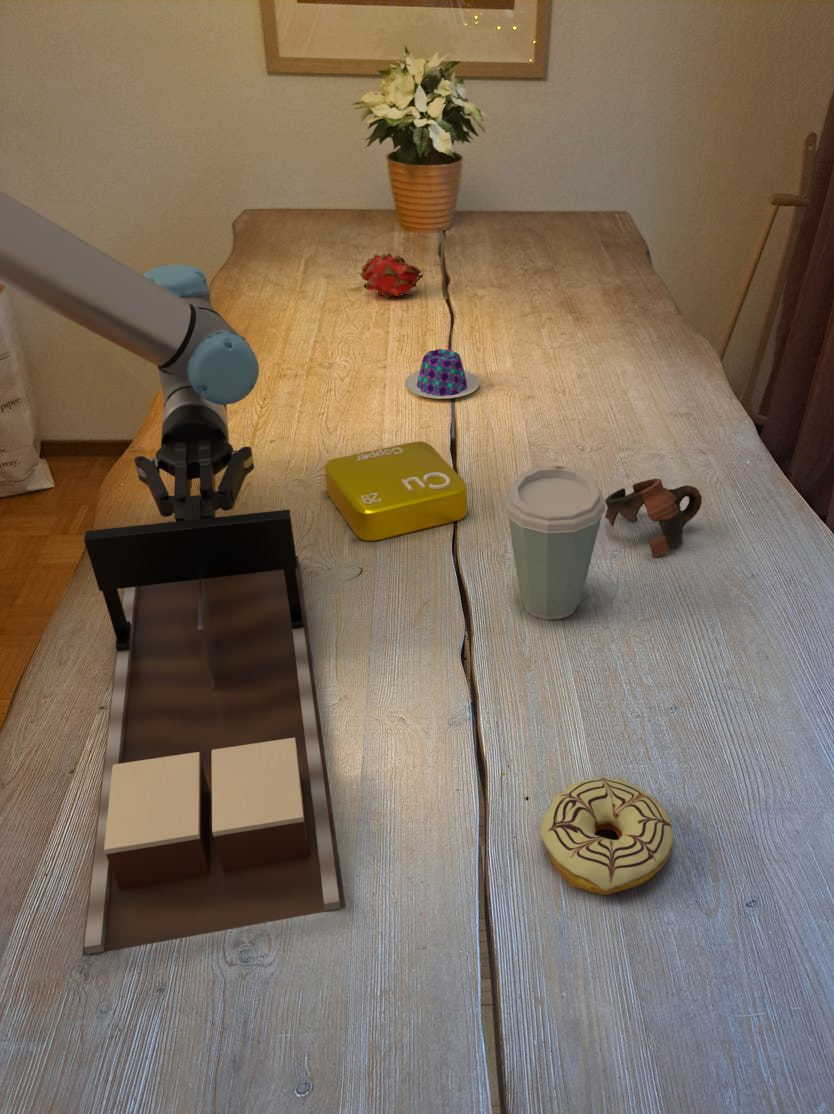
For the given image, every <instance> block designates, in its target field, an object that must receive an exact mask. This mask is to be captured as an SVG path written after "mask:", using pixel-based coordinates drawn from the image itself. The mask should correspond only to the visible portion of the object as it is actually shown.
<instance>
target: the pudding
mask: <svg viewBox="0 0 834 1114" xmlns="http://www.w3.org/2000/svg"><path fill="white" fill-rule="evenodd" d="M480 383H481V381H480V378H479V377H478V376H477V375H476V374H474V373H473V372H471V371H469V370H466V369H465V368H464V365H463V361H462V357H461V355H460V353H458V352H456V351H453V350H452V349H443V348H438V349H435V350H428V351H427V352H426V353H425V354H424V355H423V357H422V360H421V363H420V368H419V370H417V371H415V372H412V373H411V374H409V375H408V376H407V377H406V378H405V380H404V386H405V388H406V389H407V390H408V391H409V392H411V393H412V394H415V395H417V396H420V397H424V398H430V399H439V400H440V399H454V398H455V399H456V398H460V397H464V396H466V395H467V396H468V395H469V394H471V393H473V392H475V391H476V390H477V389H478V388H479V387H480V385H481V384H480Z"/></svg>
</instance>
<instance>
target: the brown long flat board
mask: <svg viewBox="0 0 834 1114" xmlns="http://www.w3.org/2000/svg"><path fill="white" fill-rule="evenodd" d="M296 560H297V568H296V574H297V582H298V589H299V596H300V603H301V610H302V618H303V626H304V627H301V628H293V629H292V624H291V616H290V609H289V602H288V595H287V589H286V582H285V575H284V570H275V571H267V572H258V573H250V574H241V575H233V576H224V577H216V578H207V579H198V580H190V581H181V582H173V583H164V584H156V585H147V586H139V587H130V588H122V589H123V591H122V597H121V598H122V600H121V603H122V607H123V610H124V614H125V617H126V621H130V624H131V632H130V643H129V649H128V650H121V651H117V650H116V652H115V661H114V668H113V677H112V678H113V679H112V687H111V694H110V695H111V697H110V704H109V705H110V706H109V712H108V713H109V714H108V723H107V730H106V740H105V748H104V757H103V765H102V774H101V776H102V777H101V784H100V793H99V804H98V812H97V818H96V827H95V828H96V829H95V837H94V845H93V846H94V847H93V855H92V857H93V858H92V863H91V864H92V865H91V872H90V882H89V891H88V898H87V907H86V908H87V909H86V915H85V926H84V934H83V943H82V952H81V953H82V954H81V957H86V956H91V955H96V954H103V953H108V952H114V951H120V950H123V949H129V948H135V947H141V946H147V945H151V944H156V943H162V942H168V941H172V940H173V941H174V940H178V939H183V938H189V937H195V936H201V935H206V934H210V933H212V934H213V933H216V932H223V931H228V930H234V929H239V928H244V927H249V926H255V925H260V924H266V923H271V922H278V921H282V920H287V919H292V918H298V917H304V916H310V915H315V914H321V913H326V912H327V913H328V912H333V911H337V910H341V909H346V899H345V893H344V892H345V891H344V885H343V879H342V878H343V877H342V871H341V863H340V856H339V847H338V842H337V834H336V833H337V832H336V827H335V819H334V812H333V804H332V797H331V789H330V781H329V775H328V768H327V767H328V766H327V759H326V751H325V746H324V739H323V731H322V723H321V716H320V708H319V702H318V694H317V687H316V680H315V673H314V664H313V655H312V650H311V642H310V634H309V626H308V620H307V613H306V606H305V599H304V590H303V582H302V576H301V568H300V562H299V561H300V560H299V556H298V555H296ZM199 580H202V583H203V587H204V592H205V596H206V601H207V606H208V610H209V615H210V619H211V624H212V629H213V633H214V638H215V688H212V686H211V681H210V677H209V673H208V668H207V664H206V660H205V655H204V651H203V646H202V642H201V638H200V633H199V629H198V623H199ZM288 738H295V740H296V746H297V752H298V758H299V765H300V771H301V777H302V786H303V796H304V805H305V814H306V824H307V833H308V842H309V852H310V856H309V857H304V858H298V859H292V860H286V861H280V862H275V863H269V864H263V865H257V866H251V867H246V868H240V869H234V870H228V871H223V870H222V867H221V863H220V859H219V856H218V852H217V848H216V844H215V840H214V836H213V833H212V750H214V749H221V748H228V747H235V746H241V745H248V744H255V743H261V742H268V741H275V740H282V739H288ZM195 752H199V753H200V757H201V761H202V764H203V768H204V772H205V776H206V780H207V784H208V788H209V814H210V874H206V875H200V876H194V877H188V878H183V879H177V880H171V881H165V882H159V883H154V884H148V885H142V886H136V887H130V888H124V889H119V887H118V885H117V882H116V880H115V877H114V874H113V872H112V869H111V867H110V864H109V861H108V859H107V856H106V853H105V851H104V845H105V835H106V825H107V816H108V806H109V796H110V787H111V777H112V767H113V765H114V764H121V763H127V762H134V761H141V760H148V759H154V758H161V757H168V756H174V755H181V754H188V753H195Z"/></svg>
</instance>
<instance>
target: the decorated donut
mask: <svg viewBox="0 0 834 1114" xmlns="http://www.w3.org/2000/svg"><path fill="white" fill-rule="evenodd" d="M601 830H603V831H609V830H610V831H613V832H614V833H615V834H616V835H617V838H618V839H609V838H606V837H602V836H600V835H596V833H598V832H599V831H601ZM539 835H540V839H541V841H542V842H543V844H544V845H545V848H546V852H547V854H548V856H549V858H550V861H551V863H552V865H553V866H554V868H555V870H556V871H557V873H558V875H560V876H561V878H562V880H564V881H566V882H567V883H568V884H569V885H570V886H571V887H572V888H575V889H582V890H584V891H586V892H590V893H595V894H598V895H602V896H607V895H611V894H615V893H618V892H624V891H626V890H628V889H632V888H635V887H638V886H640V885H642V884H644V883H646V882H648V881H649V880H651V879H652V878H653V877H654V876H655V875H656V874H657V873H658V872H659V871H660V870H661V868H662V867H663V866H664V865H665V864H666V862H667V860H668V859H669V857H670V856H671V851H672V848H673V843H674V833H673V823H672V820H671V818H670V814H669V813H668V812H667V809H666V808H665V807H664V806H663V805H662V804H661V802H659V800H658V799H657V798H655V797H654V796H653V795H651V794H650V793H648V792H646V791H645V790H643V789H641V788H640V787H638V786H637V785H635V784H633V783H631V782H629V781H627V780H624V779H620V778H618V777H617V778H614V777H610V778H607V777H596V778H590V779H587V780H581V781H576V782H573V783H571V784H569V785H567V786H566V787H565V789H564V790H563V792H561V793H560V794H557V795H555V797H553V800H552V802H551V804H550V808H549V809H548V810H547V811H546V814H545V815H544V816H543V818H542V821H541V824H540V828H539Z"/></svg>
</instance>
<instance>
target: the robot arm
mask: <svg viewBox="0 0 834 1114" xmlns="http://www.w3.org/2000/svg"><path fill="white" fill-rule="evenodd" d="M0 285H1V286H4V287H6V288H7V289H10V290H11V291H13V292H16V293H17V294H19V295H21V296H23V297H25V298H27V299H29V300H30V301H32V302H35V304H36V303H37V304H38V305H40V306H42V307H44V308H46V309H47V310H50V311H51V312H54V313H56V314H57V315H60V316H61V317H63V318H65V319H67V320H69V321H71V322H73V323H75V324H77V325H78V326H80V327H82V328H84V329H87V330H88V331H90V332H92V333H94V334H95V335H98V336H100V337H102V338H104V339H105V340H107V341H109V342H111V343H113V344H115V345H117V346H119V347H120V348H122V349H125V350H127V351H128V352H130V353H133V355H136V356H138V357H140V358H142V359H144V360H146V361H147V362H149V363H151V364H153V365H154V366H156V367H157V371H158V377H159V382H160V387H161V391H162V395H163V413H162V424H161V436H160V437H161V438H160V448H159V449H158V450H156V452H155V456H154V457H151V458H147V457H146V456H143V455H138V456H136V457H134V459H133V460H134V464H135V468H136V473H137V477H138V480H139V481H140V482H142V483H143V484H145V485H147V487H148V489H149V491H150V493H151V496H152V498H153V501H154V502H155V505H156V507H157V509H158V511H159V512H158V513H159V514H160V516H161V517H164V518H168V517H170V516H172V515H173V517H174V522H176V521H185V520H194V519H204V518H213V517H216V513H217V511H218V510H220V509H221V510H222V511H225V512H226V511H231V510H232V509H234V506H235V503H236V501H237V498H238V496H239V494H240V492H241V489H242V486H243V484H244V482H245V479H246V476H247V475H248V474H250V473H251V472H252V471H253V470H254V469H255V463H254V457H253V450H252V447H250V446H242V447H241V448H239V450H235V449H234V447H233V445H232V444H231V443H230V436H229V420H228V407H227V406H228V405H232V404H236V403H238V402H241V401H242V400H244V399H245V398H247V397H248V396H249V395H250V394H251V393H252V391H253V390H254V388H255V386H256V384H257V382H258V379H259V373H260V365H259V360H258V358H257V354H256V353H255V352H254V350H253V349H252V347H251V345H250V343H249V342H248V341H247V339H246V338H245V337H244V336H243V335H241V334H240V333H238V332H237V331H236V330H235V329H234V328H233V327H232V326H231V325H230V324H229V322H227V320H225V319H224V317H222V315H221V314H220V313H219V312H218V311H217V310H216V308H215V307H213V305H212V301H211V295H212V293H211V291H210V289H209V286H208V281H207V278H206V274H205V273H204V272H203V270H202V269H200V268H198V267H196V266H194V265H189V264H167V265H162V266H160V265H159V266H157V267H154V268H151V269H149V270H147V271H146V272H144V274H142V273H140V272H139V271H136V270H135V269H134V268H132V267H130V266H128V265H127V264H125V263H123V262H122V261H120V260H118V259H117V258H115V257H114V256H112V255H111V254H108V253H106V252H105V251H103V250H102V249H100V248H98V247H97V246H95V245H93V244H91V243H90V242H88V241H86V240H85V239H83V238H82V237H80V236H78V235H76V234H75V233H73V232H71V231H70V230H68V229H67V228H64V227H63V226H61V225H60V224H58V223H56V222H54V221H53V220H51V219H49V217H46V216H45V215H43V214H41V213H39V212H38V211H36V210H34V209H33V208H31V207H29V206H28V205H26V204H24V203H22V201H19V200H18V199H16V198H14V197H13V196H10V195H9V194H7V193H5V192H4V191H2V190H1V189H0ZM223 470H225V471H224V472H223V475H222V478H221V480H220V482H219V484H218V486H217V490H216V475H217V474H219V473H220V472H221V471H223ZM161 471H163V472H165V473H167V474H168V475H170V476H173V477H174V485H173V486H174V487H173V488H174V489H173V495H169V491H168V490H167V487H166V485H165V483H164V481H163V478H162V477H161V474H160V473H161ZM195 479H199V486H198V489H199V490H198V491H199V494H198V495H192V488H193V480H195Z"/></svg>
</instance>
